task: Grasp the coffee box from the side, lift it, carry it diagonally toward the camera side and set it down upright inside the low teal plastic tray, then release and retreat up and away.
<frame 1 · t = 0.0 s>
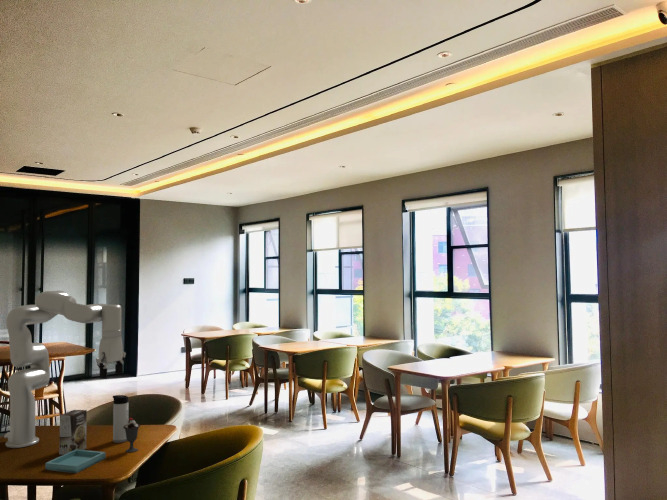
hand: (111, 376, 226), 31 cm above the table, fingers open, 9 cm apart
sundae: (131, 451, 226), on the table
tray: (76, 464, 211), on the table
coffee box: (73, 451, 226), on the table
travel mug: (120, 441, 239), on the table
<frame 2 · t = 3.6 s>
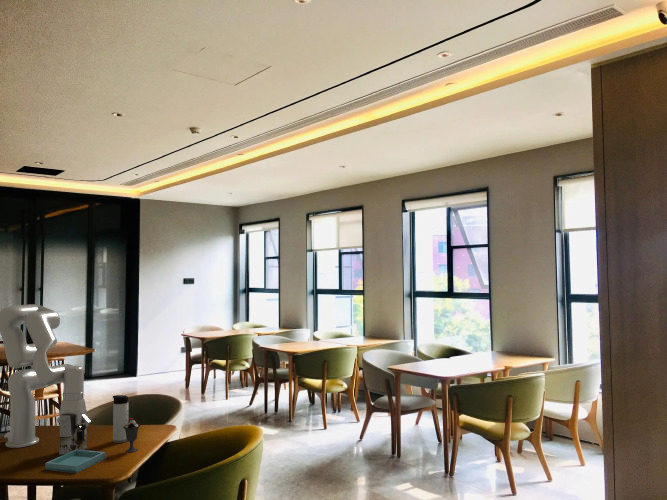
hand: (73, 439, 226), 5 cm above the table, fingers closed on coffee box, 6 cm apart
coffee box: (73, 451, 226), on the table, touching gripper
everything else where it was.
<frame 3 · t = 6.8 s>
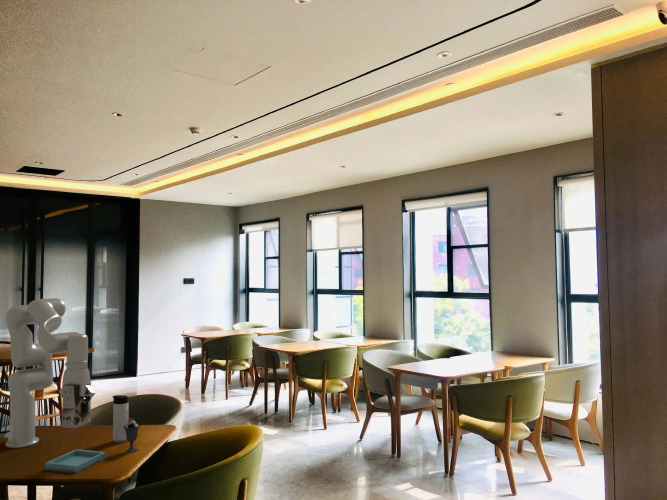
hand: (76, 411, 212), 20 cm above the table, fingers closed on coffee box, 6 cm apart
coffee box: (76, 425, 212), point 15 cm above the table, touching gripper
everything else where it was.
when the fingers open (7 cm above the table, at t = 10.1 s): coffee box drops 1 cm, resting on tray.
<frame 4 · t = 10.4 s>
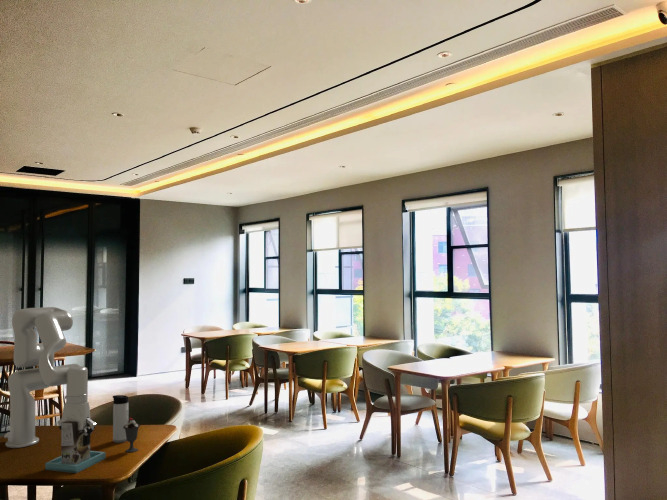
hand: (76, 443, 211), 8 cm above the table, fingers open, 9 cm apart
coffee box: (76, 462, 211), point 1 cm above the table, touching tray
everything else where it was.
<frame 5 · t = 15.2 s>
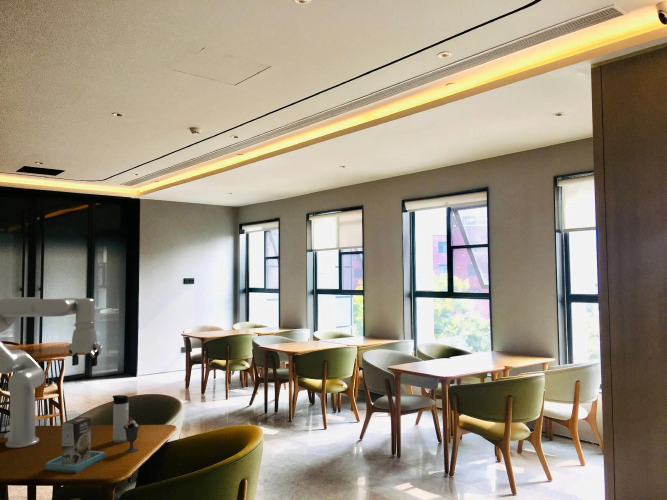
hand: (84, 365, 239), 33 cm above the table, fingers open, 9 cm apart
nothing on the table moved.
at the end: coffee box inside the target area on the tray (0.1 cm from its centre), point 0.6 cm above the tray's base; coffee box tilted 0°; the gripper is holding nothing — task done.
